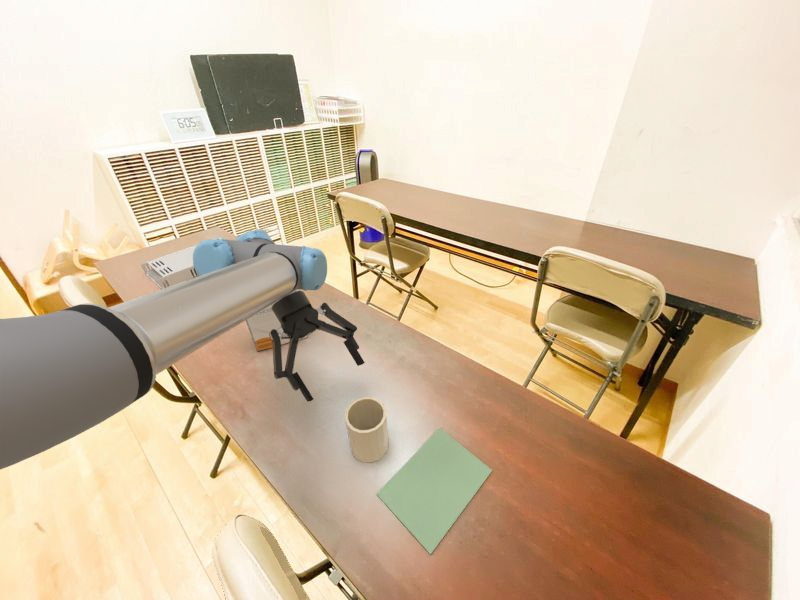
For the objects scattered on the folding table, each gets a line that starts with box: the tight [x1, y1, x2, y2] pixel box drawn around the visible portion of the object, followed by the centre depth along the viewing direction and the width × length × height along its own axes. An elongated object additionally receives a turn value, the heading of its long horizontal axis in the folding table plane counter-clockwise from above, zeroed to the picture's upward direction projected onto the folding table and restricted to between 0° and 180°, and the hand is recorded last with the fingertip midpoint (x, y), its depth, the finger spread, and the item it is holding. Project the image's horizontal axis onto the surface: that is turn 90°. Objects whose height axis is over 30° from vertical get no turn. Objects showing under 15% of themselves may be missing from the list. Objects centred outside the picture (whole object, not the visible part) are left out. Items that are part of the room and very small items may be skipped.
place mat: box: [376, 427, 493, 556], centre depth 66 cm, size 20×14×1 cm
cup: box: [344, 396, 389, 463], centre depth 69 cm, size 8×8×12 cm
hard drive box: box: [245, 305, 308, 352], centre depth 96 cm, size 16×8×20 cm, turn 114°
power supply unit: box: [140, 236, 223, 290], centre depth 138 cm, size 19×33×5 cm, turn 140°
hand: (337, 381), depth 70 cm, fingers open, 13 cm apart
